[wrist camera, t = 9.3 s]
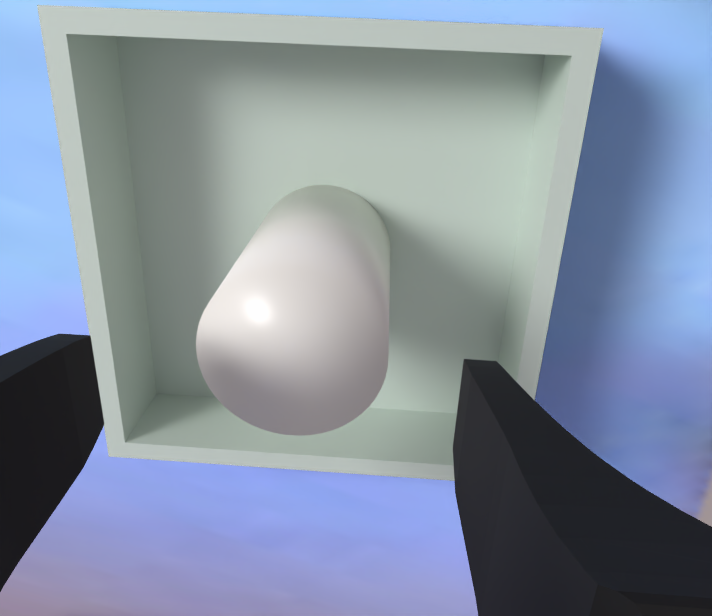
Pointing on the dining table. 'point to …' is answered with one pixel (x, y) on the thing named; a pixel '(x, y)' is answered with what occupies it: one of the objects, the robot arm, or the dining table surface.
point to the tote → (306, 168)
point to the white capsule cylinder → (302, 316)
